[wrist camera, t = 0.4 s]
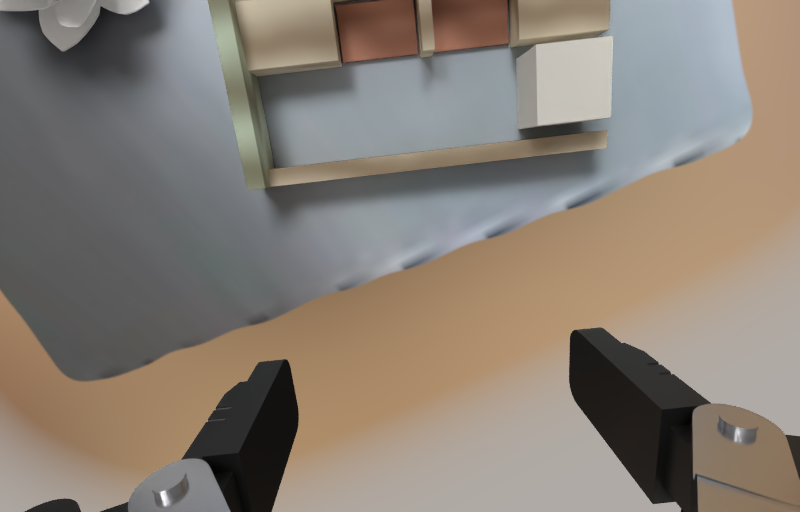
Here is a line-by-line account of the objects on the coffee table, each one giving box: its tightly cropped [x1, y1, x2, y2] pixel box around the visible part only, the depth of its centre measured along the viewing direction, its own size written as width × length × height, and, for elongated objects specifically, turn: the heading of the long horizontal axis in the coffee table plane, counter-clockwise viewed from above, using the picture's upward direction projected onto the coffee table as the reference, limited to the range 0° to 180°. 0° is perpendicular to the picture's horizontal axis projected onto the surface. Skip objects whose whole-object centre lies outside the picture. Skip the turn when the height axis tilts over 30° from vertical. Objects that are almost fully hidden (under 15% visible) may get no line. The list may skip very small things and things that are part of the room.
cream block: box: [516, 36, 613, 129], centre depth 33 cm, size 6×6×5 cm
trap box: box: [208, 0, 610, 190], centre depth 33 cm, size 16×32×4 cm, turn 96°
